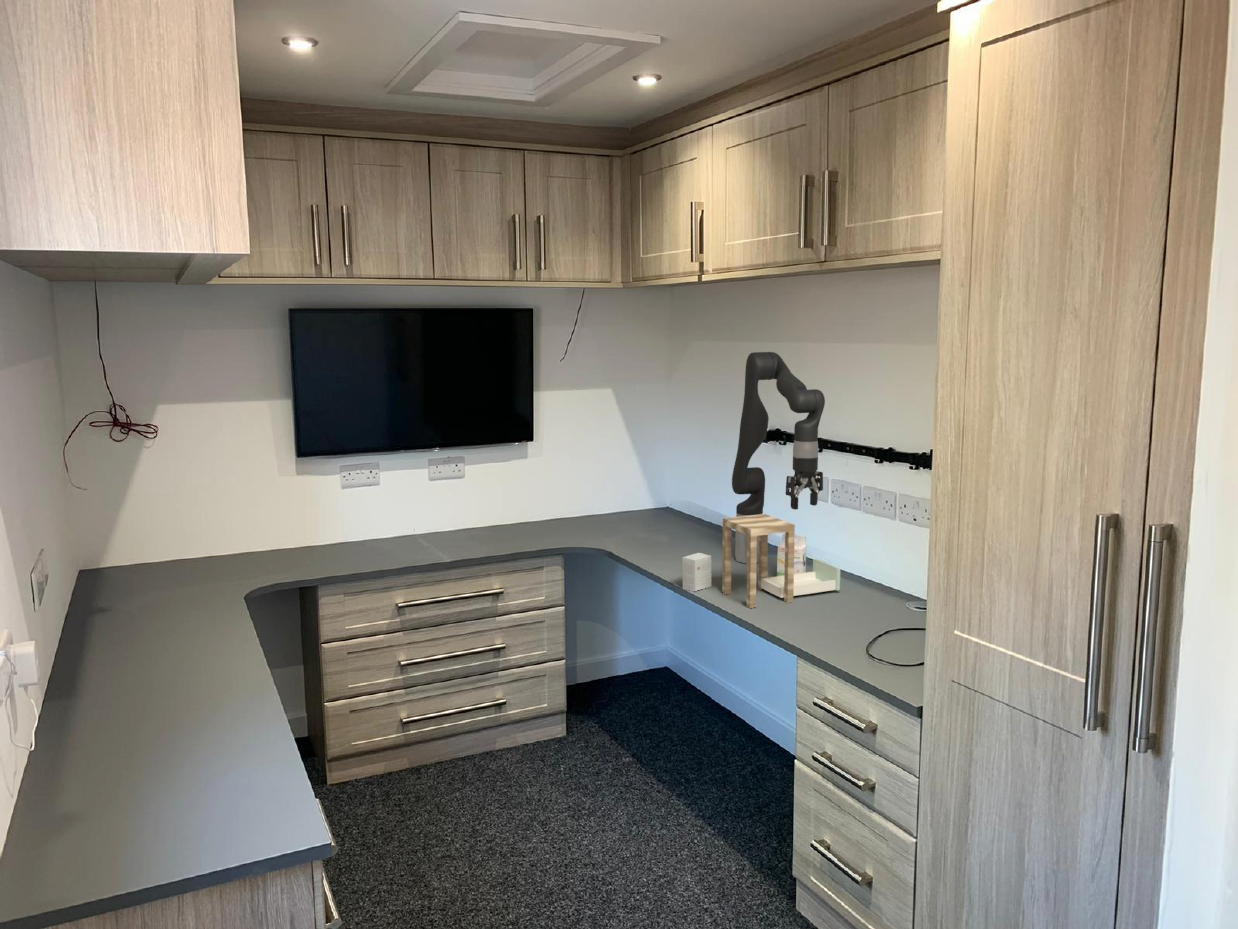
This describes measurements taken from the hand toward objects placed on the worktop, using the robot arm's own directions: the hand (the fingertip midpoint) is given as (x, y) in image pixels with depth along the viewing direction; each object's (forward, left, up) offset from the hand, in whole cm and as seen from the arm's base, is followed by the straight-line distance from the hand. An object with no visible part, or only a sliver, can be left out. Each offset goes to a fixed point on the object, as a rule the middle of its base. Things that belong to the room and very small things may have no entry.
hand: (804, 507), depth 286 cm
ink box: (-14, +5, -28) cm, 31 cm away
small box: (-19, -27, -28) cm, 43 cm away
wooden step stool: (-2, -15, -27) cm, 31 cm away
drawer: (-2, 0, -26) cm, 26 cm away
